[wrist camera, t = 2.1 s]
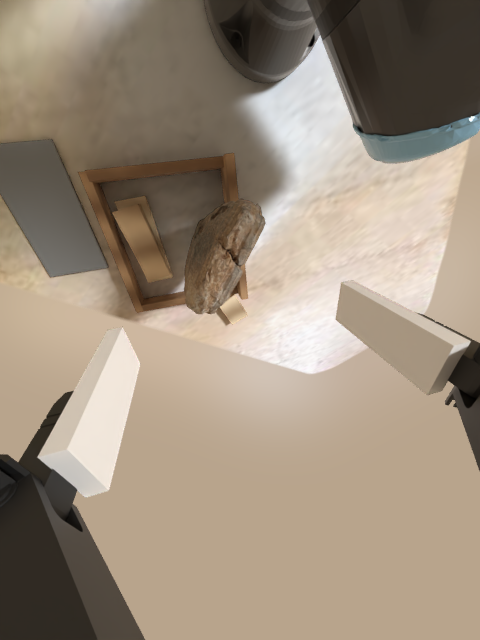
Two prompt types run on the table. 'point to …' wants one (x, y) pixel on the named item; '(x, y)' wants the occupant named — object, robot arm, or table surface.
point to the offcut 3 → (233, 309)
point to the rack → (97, 176)
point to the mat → (48, 207)
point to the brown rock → (220, 254)
